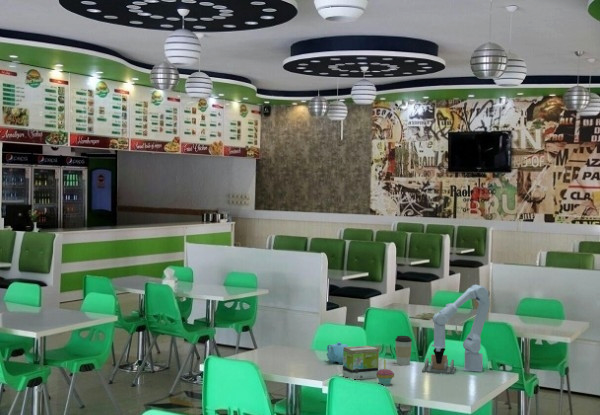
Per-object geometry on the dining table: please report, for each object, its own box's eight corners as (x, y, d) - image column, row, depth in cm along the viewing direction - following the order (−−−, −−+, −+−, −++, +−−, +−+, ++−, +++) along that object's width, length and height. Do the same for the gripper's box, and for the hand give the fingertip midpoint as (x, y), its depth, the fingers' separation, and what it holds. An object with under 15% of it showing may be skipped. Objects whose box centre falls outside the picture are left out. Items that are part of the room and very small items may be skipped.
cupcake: (374, 382, 374) (375, 357, 374) (392, 382, 374) (392, 357, 374) (377, 386, 365) (378, 360, 365) (395, 386, 366) (396, 360, 366)
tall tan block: (447, 368, 401) (447, 355, 401) (446, 369, 400) (447, 355, 400) (431, 367, 404) (431, 354, 403) (431, 368, 402) (431, 354, 402)
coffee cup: (411, 362, 422) (411, 334, 422) (412, 365, 413) (412, 337, 413) (394, 361, 422) (394, 334, 422) (394, 365, 413) (395, 337, 413)
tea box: (352, 380, 376) (353, 350, 376) (342, 376, 385) (342, 346, 385) (378, 378, 383) (379, 348, 383) (367, 373, 392) (368, 344, 392)
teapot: (348, 361, 426) (348, 340, 427) (353, 365, 412) (353, 343, 413) (325, 361, 424) (325, 340, 425) (330, 365, 410) (330, 344, 411)
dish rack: (455, 368, 406) (455, 359, 406) (453, 374, 393) (454, 364, 393) (424, 366, 411) (425, 357, 411) (422, 372, 397) (422, 362, 397)
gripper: (433, 334, 410) (432, 359, 410) (430, 338, 396) (430, 365, 396) (446, 334, 408) (446, 360, 408) (444, 339, 394) (444, 366, 394)
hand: (439, 363), depth 402 cm, fingers open, 3 cm apart
